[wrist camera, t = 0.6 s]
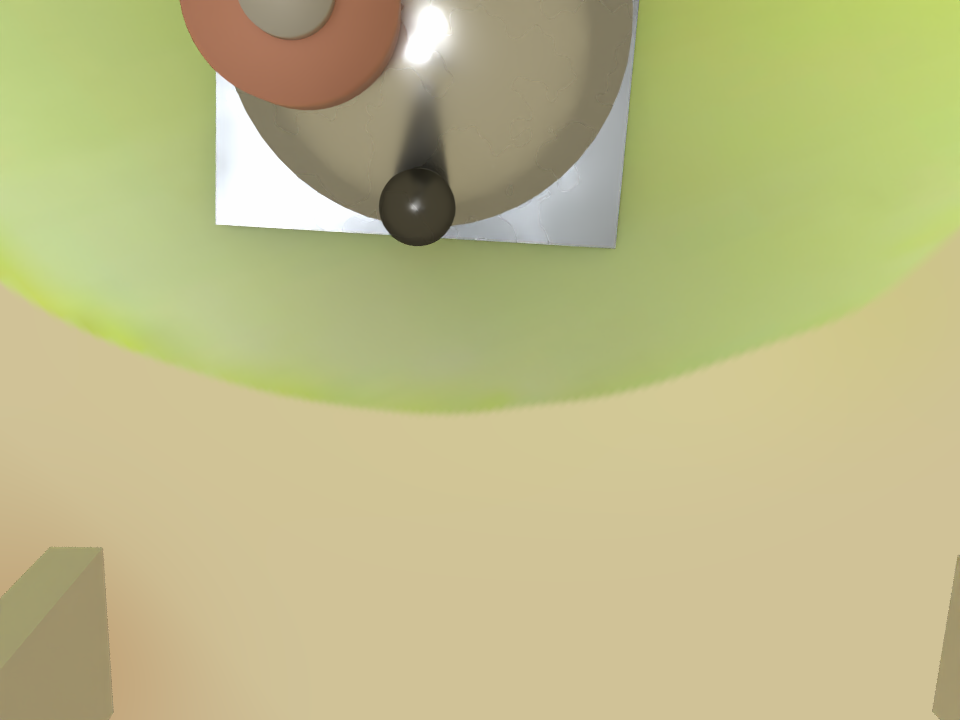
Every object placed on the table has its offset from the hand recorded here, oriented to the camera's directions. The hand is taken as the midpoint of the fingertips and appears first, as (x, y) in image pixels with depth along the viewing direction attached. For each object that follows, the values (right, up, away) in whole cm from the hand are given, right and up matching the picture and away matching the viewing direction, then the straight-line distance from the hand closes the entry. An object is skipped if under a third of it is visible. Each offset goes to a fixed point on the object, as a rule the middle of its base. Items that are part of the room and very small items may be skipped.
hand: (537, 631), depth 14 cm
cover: (-7, +17, +18) cm, 26 cm away
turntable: (-3, +17, +21) cm, 27 cm away
